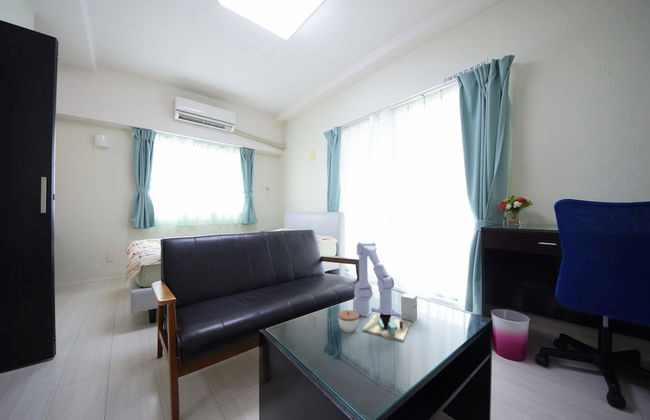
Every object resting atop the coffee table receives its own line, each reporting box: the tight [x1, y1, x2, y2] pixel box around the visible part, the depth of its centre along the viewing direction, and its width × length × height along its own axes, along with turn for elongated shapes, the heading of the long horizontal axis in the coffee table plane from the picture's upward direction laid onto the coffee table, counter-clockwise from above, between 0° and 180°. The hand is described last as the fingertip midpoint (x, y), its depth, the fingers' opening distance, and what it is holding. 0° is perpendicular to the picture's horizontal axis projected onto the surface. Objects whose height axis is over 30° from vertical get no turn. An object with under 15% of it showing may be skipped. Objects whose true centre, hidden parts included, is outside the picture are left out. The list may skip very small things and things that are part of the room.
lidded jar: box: [337, 309, 360, 333], centre depth 116 cm, size 11×11×9 cm
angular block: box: [378, 320, 397, 335], centre depth 115 cm, size 14×8×3 cm, turn 1°
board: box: [362, 314, 412, 342], centre depth 118 cm, size 20×20×4 cm
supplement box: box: [400, 292, 418, 322], centre depth 129 cm, size 7×7×13 cm
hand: (386, 328), depth 111 cm, fingers closed
